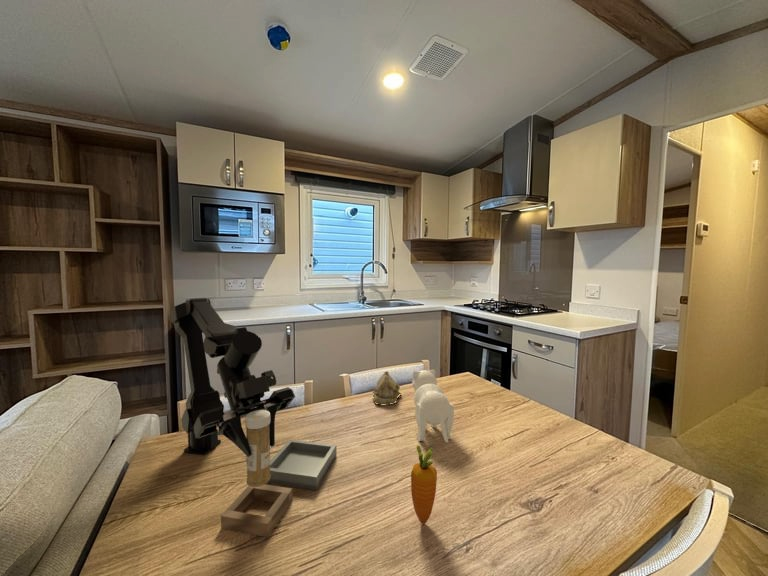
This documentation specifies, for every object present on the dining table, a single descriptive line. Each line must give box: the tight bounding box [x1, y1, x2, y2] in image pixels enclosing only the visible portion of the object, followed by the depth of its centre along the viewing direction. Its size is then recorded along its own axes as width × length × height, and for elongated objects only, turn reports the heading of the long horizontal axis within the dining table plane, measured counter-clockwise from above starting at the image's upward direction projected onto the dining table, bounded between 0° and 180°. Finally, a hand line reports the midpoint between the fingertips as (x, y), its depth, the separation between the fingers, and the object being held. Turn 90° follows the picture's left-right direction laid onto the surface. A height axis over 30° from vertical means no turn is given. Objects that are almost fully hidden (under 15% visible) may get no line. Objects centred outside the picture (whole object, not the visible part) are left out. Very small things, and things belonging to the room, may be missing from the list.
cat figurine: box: [408, 369, 455, 443], centre depth 94 cm, size 25×10×17 cm, turn 12°
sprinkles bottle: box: [244, 410, 271, 487], centre depth 63 cm, size 5×5×13 cm
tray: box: [266, 438, 337, 491], centre depth 78 cm, size 13×13×3 cm
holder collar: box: [220, 483, 293, 538], centre depth 63 cm, size 10×10×2 cm
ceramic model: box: [372, 371, 402, 404], centre depth 120 cm, size 14×11×10 cm
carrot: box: [410, 444, 438, 525], centre depth 61 cm, size 5×5×15 cm
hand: (261, 450), depth 62 cm, fingers closed on sprinkles bottle, 4 cm apart
